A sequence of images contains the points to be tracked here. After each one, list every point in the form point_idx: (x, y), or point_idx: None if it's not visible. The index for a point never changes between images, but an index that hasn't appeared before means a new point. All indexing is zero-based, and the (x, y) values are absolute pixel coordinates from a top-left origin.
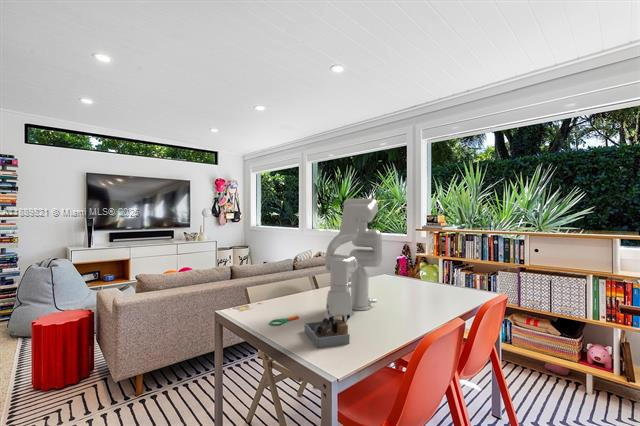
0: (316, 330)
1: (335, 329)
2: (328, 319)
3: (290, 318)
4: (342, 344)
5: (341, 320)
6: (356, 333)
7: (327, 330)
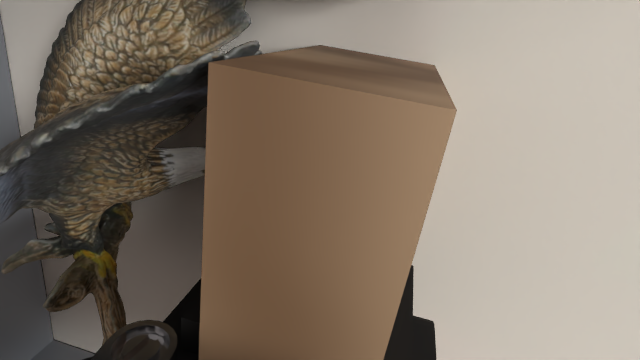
0: (39, 115)
1: None
2: (169, 97)
3: None
4: None
5: None
6: (592, 334)
7: (116, 304)
